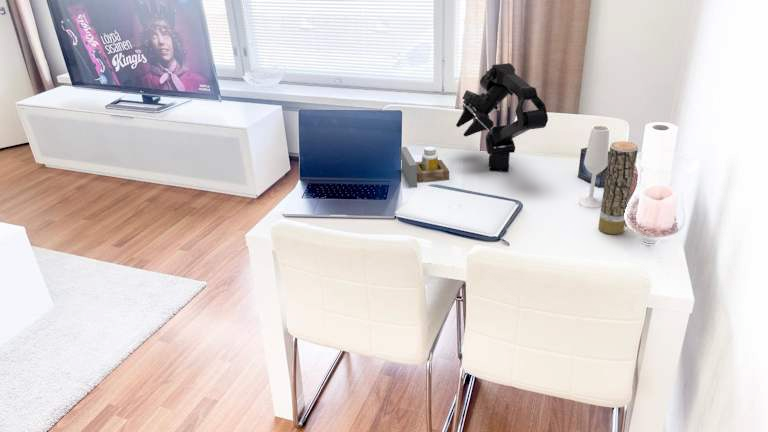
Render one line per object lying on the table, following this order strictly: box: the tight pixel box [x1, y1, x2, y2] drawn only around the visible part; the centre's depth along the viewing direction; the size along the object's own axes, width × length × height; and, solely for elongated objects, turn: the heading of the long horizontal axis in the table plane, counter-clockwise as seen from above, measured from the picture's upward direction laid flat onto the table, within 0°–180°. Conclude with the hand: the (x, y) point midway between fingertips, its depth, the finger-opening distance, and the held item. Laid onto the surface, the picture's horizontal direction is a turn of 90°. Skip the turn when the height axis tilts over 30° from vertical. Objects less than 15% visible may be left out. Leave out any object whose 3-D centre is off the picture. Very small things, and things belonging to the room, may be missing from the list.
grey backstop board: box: [401, 146, 418, 188], centre depth 201 cm, size 2×18×8 cm, turn 9°
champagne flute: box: [578, 125, 610, 208], centre depth 175 cm, size 7×7×24 cm
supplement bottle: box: [421, 146, 439, 171], centre depth 202 cm, size 5×5×10 cm
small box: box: [577, 147, 610, 189], centre depth 193 cm, size 11×6×10 cm, turn 25°
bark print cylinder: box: [598, 140, 639, 235], centre depth 159 cm, size 7×7×25 cm
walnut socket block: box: [415, 159, 450, 184], centre depth 203 cm, size 11×11×4 cm
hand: (460, 130), depth 203 cm, fingers open, 9 cm apart
